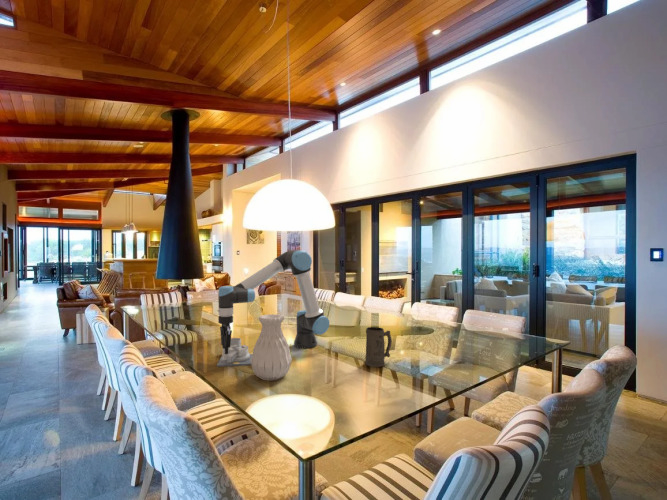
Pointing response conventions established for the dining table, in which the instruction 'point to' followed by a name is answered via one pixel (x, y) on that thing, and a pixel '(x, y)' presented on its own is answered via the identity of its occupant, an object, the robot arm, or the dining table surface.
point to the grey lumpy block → (237, 352)
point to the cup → (235, 341)
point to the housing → (236, 360)
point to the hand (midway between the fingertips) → (225, 359)
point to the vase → (271, 350)
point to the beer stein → (376, 346)
